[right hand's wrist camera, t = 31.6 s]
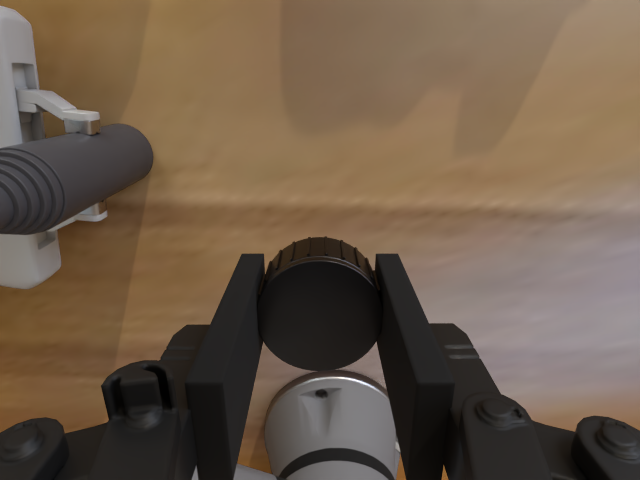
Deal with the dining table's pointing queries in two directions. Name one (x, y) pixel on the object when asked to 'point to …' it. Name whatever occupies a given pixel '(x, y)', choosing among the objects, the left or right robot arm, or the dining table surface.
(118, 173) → the bottle
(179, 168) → the dining table surface
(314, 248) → the cap
